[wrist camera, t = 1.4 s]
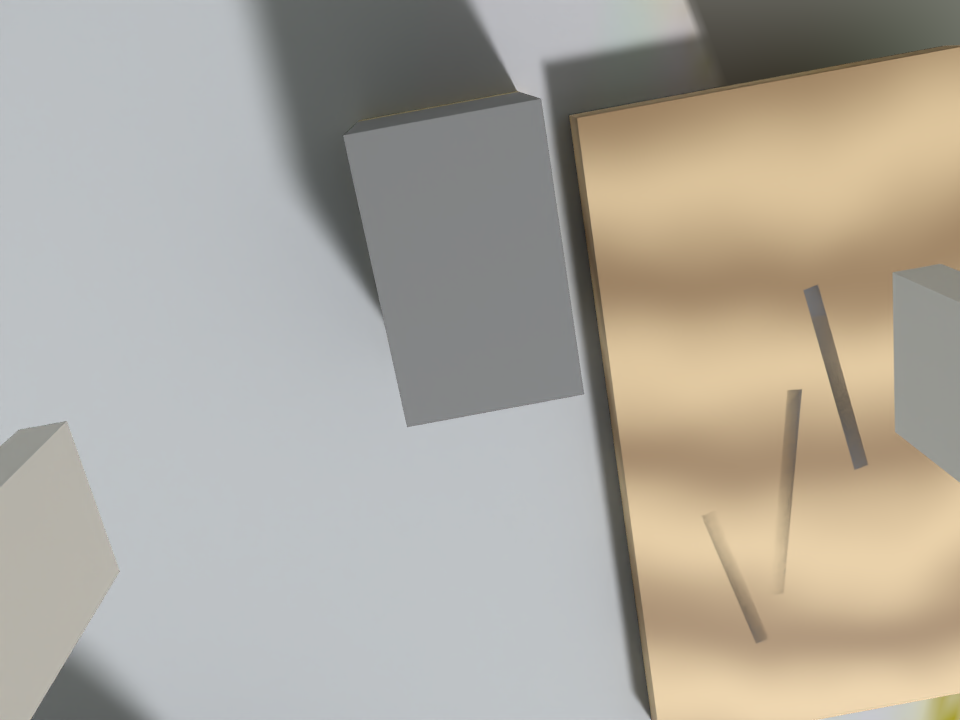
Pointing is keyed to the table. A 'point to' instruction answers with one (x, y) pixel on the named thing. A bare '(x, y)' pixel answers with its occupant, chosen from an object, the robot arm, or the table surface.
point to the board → (777, 384)
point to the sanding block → (467, 255)
